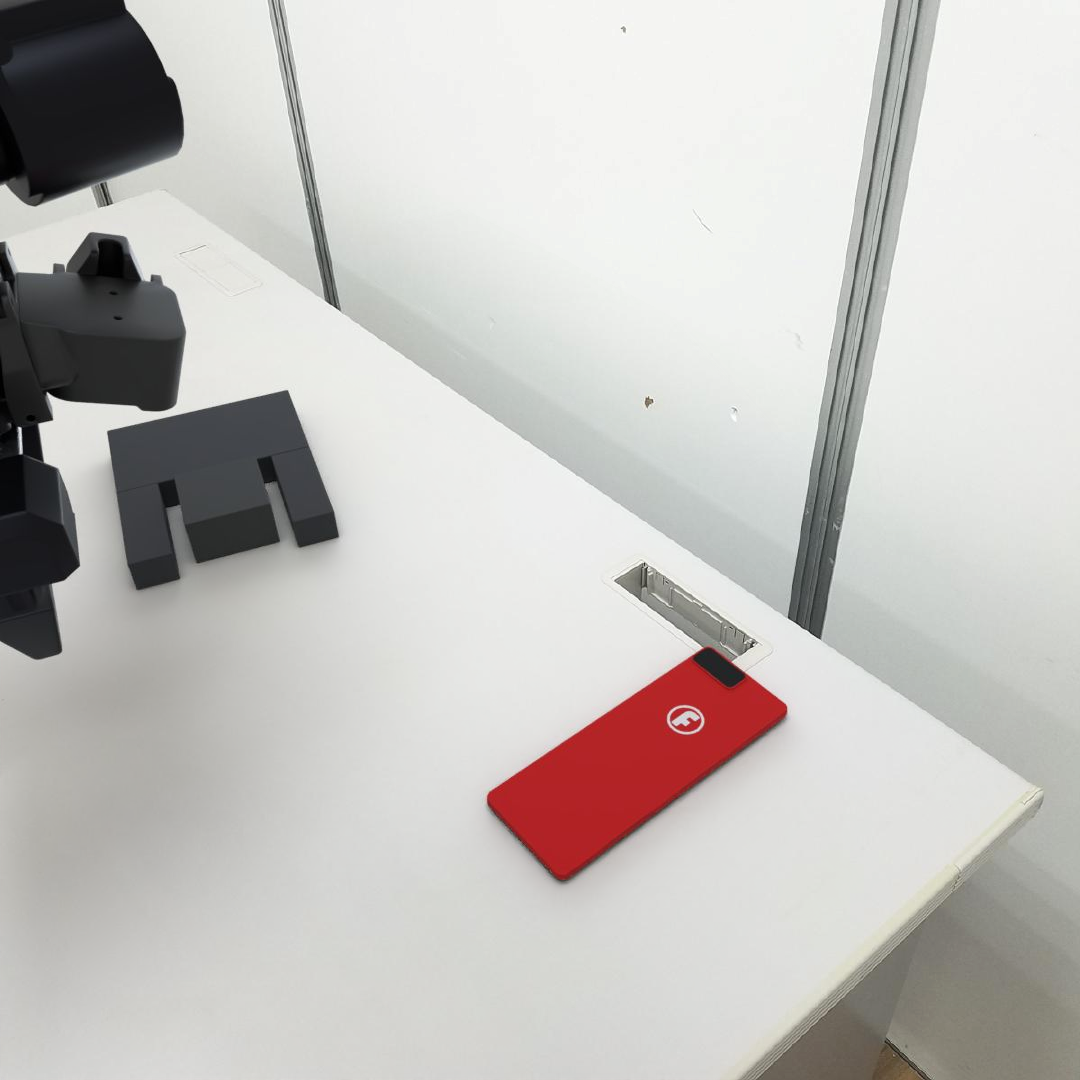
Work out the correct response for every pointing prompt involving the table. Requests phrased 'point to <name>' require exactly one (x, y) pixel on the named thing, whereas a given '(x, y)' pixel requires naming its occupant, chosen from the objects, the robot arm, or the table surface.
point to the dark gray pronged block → (205, 441)
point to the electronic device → (634, 761)
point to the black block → (226, 509)
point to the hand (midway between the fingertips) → (44, 581)
